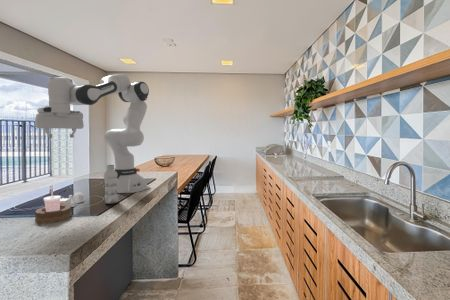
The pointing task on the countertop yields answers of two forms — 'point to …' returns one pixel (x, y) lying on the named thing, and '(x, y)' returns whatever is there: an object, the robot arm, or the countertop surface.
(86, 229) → the countertop surface
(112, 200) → the plastic bottle
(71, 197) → the container set
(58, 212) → the walnut ring
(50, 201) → the beverage cup
